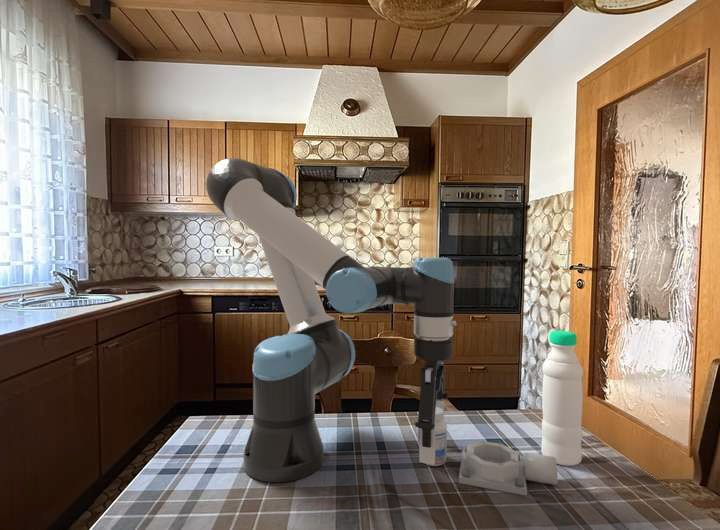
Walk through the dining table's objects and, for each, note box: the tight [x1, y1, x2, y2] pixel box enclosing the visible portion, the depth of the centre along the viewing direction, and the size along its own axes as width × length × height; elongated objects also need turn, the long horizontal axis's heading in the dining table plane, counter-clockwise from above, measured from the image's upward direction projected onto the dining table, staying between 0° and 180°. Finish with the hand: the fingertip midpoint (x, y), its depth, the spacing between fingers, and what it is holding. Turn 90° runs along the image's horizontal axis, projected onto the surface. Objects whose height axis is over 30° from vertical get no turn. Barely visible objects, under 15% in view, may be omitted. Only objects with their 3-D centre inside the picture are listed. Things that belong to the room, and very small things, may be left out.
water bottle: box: [540, 330, 584, 467], centre depth 76 cm, size 7×7×25 cm
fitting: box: [458, 440, 558, 497], centre depth 70 cm, size 16×11×4 cm
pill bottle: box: [418, 407, 448, 467], centre depth 75 cm, size 6×5×10 cm
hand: (432, 445), depth 75 cm, fingers open, 13 cm apart
